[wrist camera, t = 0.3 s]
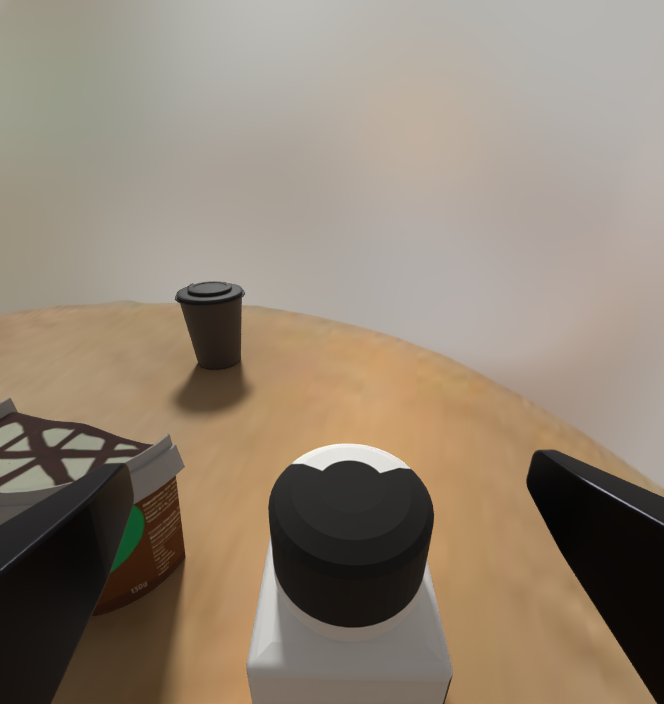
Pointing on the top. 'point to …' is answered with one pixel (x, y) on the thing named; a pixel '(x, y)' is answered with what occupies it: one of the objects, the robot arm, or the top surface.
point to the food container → (76, 461)
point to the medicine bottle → (348, 586)
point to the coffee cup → (213, 322)
